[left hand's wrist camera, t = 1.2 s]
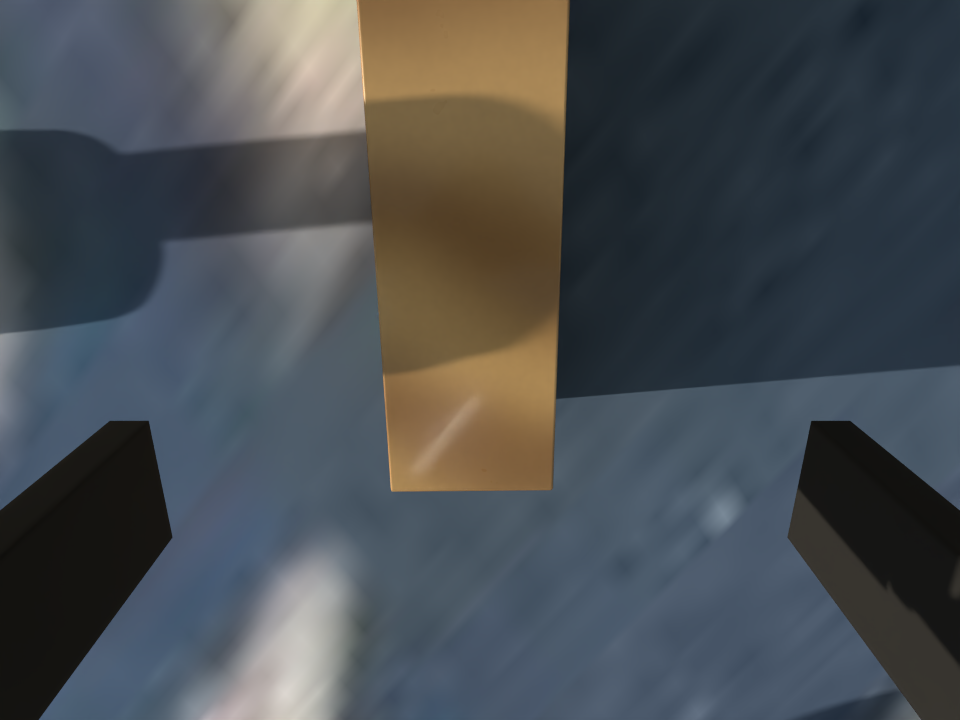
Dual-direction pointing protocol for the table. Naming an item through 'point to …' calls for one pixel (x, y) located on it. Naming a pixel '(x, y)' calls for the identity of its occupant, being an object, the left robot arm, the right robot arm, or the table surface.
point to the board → (467, 234)
